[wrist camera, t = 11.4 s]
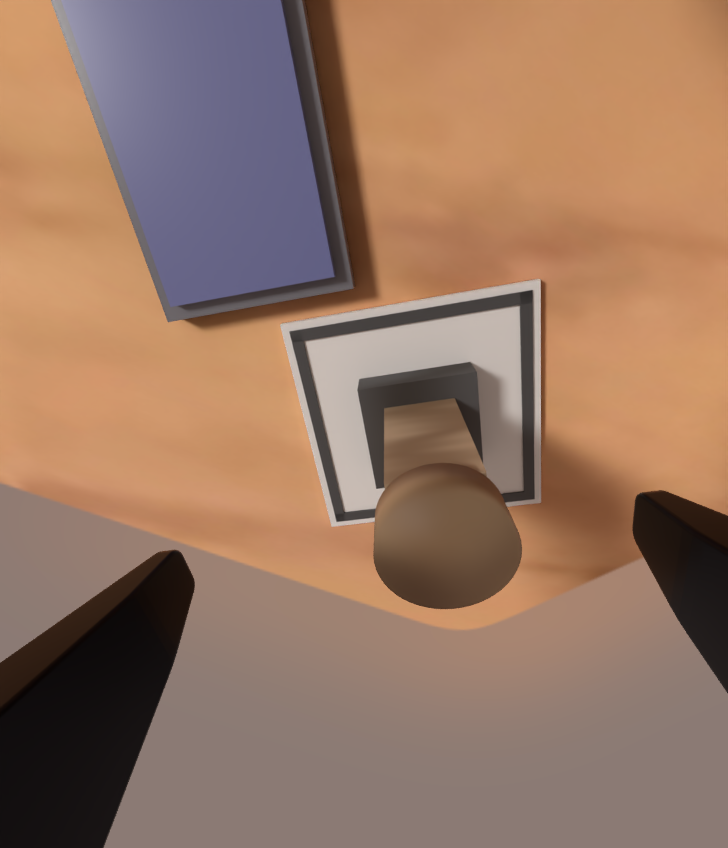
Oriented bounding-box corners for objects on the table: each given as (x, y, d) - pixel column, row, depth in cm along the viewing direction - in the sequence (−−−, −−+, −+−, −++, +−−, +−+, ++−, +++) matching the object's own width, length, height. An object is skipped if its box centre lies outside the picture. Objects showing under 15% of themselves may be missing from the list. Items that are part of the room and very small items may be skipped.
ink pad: (291, -74, 13) (280, -111, 12) (355, 285, 17) (352, 290, 16) (63, -9, 14) (29, -36, 13) (178, 317, 18) (162, 324, 17)
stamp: (470, 361, 18) (541, 465, 10) (477, 459, 20) (541, 613, 12) (359, 378, 19) (338, 490, 11) (376, 472, 21) (371, 627, 13)
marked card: (537, 278, 17) (541, 279, 17) (539, 499, 21) (541, 503, 21) (281, 323, 18) (279, 325, 18) (332, 523, 23) (331, 528, 22)
